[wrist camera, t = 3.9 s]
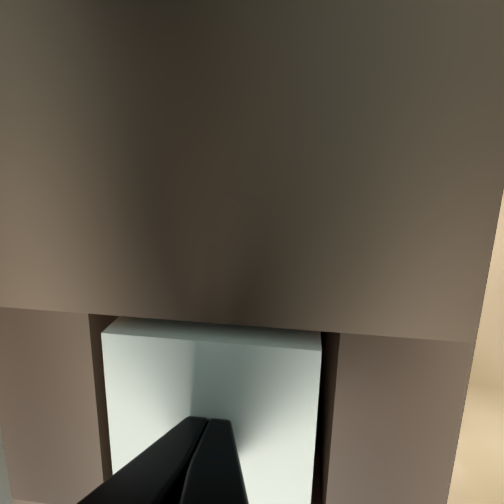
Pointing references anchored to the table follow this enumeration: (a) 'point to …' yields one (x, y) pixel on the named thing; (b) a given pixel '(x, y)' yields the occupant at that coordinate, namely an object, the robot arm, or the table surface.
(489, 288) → the table surface
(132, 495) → the robot arm
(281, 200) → the walnut block
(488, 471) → the table surface
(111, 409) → the peg cream
